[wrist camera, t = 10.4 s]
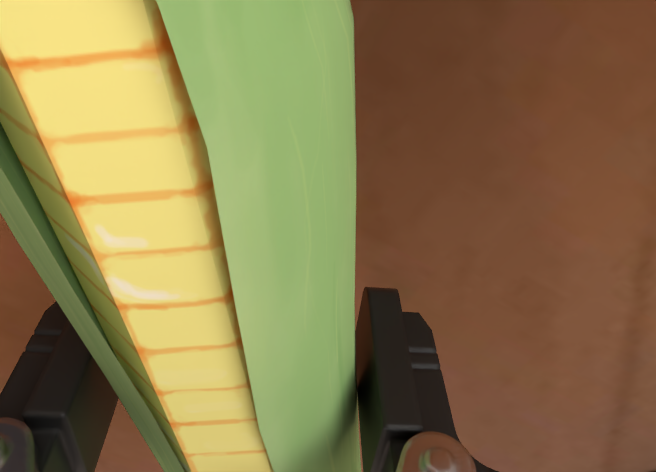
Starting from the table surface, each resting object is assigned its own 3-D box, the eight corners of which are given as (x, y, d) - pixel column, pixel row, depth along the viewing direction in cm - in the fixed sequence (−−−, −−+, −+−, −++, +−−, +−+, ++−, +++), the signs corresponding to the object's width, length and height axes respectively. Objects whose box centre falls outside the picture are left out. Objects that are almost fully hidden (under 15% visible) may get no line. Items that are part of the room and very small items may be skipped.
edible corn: (332, -335, 6) (357, -536, 3) (371, 492, 19) (385, 653, 15) (-95, -292, 6) (-604, -431, 3) (224, 501, 19) (203, 663, 15)
